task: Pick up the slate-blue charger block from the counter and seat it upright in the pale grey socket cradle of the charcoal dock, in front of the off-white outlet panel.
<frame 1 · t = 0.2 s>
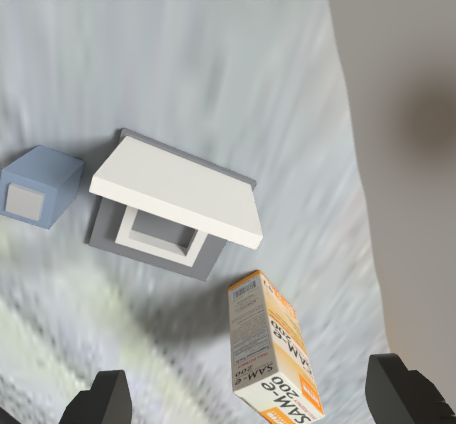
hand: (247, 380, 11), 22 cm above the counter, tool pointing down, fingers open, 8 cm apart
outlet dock: (170, 211, 33), on the counter
charger block: (58, 172, 31), on the counter
supplement box: (261, 296, 39), on the counter
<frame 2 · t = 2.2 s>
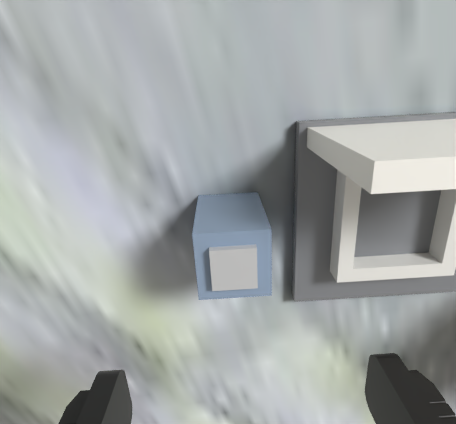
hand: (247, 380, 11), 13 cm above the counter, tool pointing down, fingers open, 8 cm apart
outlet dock: (386, 211, 23), on the counter
charger block: (229, 220, 23), on the counter
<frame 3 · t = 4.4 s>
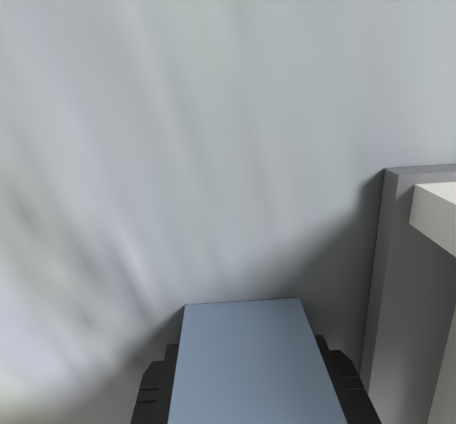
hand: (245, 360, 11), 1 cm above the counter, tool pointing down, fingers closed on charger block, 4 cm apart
charger block: (244, 345, 12), on the counter, touching gripper
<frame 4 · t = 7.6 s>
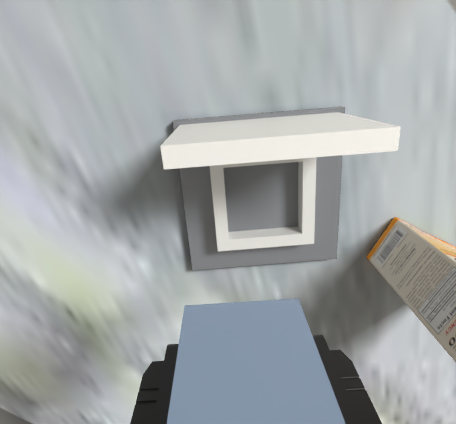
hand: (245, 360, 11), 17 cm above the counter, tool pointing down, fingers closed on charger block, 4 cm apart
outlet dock: (260, 193, 28), on the counter
charger block: (243, 346, 12), point 17 cm above the counter, touching gripper
supplement box: (412, 251, 30), on the counter
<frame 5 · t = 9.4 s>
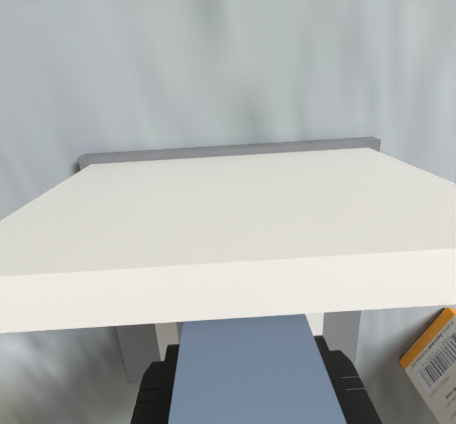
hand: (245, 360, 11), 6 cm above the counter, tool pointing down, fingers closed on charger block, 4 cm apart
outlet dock: (235, 270, 17), on the counter
charger block: (244, 346, 12), point 5 cm above the counter, touching gripper
when the fingers open (2 cm above the counter, at t = 11.0 s): charger block drops 1 cm, resting on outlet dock.
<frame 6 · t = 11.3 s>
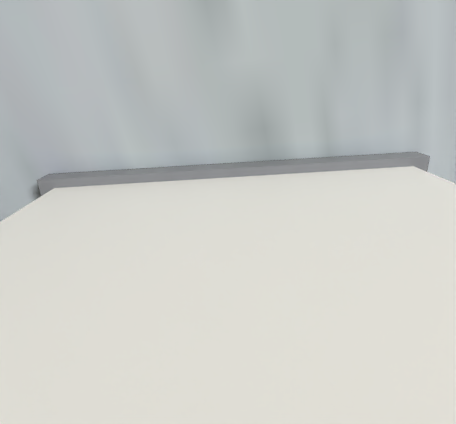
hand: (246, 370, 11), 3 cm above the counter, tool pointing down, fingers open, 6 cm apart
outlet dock: (240, 313, 14), on the counter
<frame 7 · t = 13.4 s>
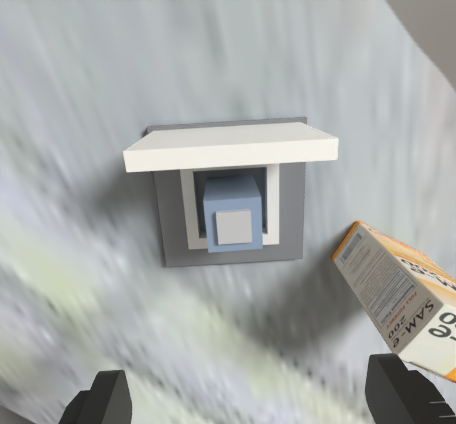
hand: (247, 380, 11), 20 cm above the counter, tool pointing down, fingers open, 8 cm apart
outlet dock: (230, 195, 29), on the counter
charger block: (231, 198, 29), point 1 cm above the counter, touching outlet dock
supplement box: (375, 253, 32), on the counter
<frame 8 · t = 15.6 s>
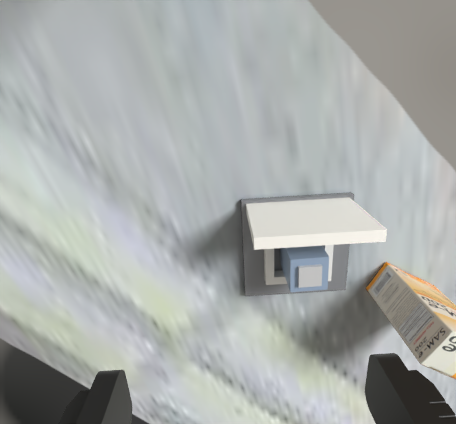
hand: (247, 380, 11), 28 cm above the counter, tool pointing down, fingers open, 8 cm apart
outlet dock: (295, 245, 41), on the counter
charger block: (296, 248, 40), point 1 cm above the counter, touching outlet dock
supplement box: (398, 284, 43), on the counter
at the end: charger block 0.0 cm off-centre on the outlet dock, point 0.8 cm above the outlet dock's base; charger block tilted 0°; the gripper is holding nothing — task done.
